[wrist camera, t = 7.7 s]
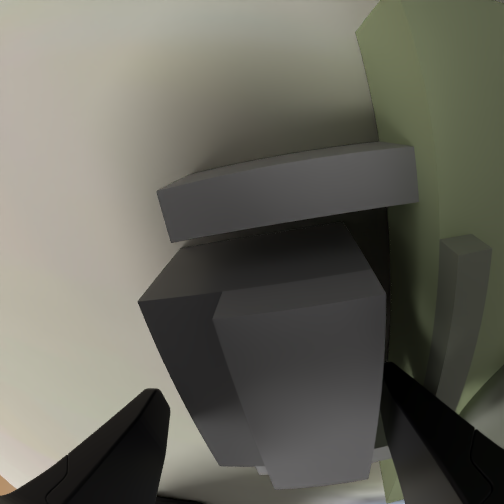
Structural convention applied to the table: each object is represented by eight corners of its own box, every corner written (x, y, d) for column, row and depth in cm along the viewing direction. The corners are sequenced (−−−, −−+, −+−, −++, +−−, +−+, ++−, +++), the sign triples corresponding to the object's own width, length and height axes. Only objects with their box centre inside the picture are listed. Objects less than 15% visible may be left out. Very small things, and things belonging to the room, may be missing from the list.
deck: (512, 404, 11) (538, 454, 7) (274, 462, 14) (269, 530, 10) (552, 57, 5) (626, 54, 1) (165, 69, 8) (79, 33, 4)
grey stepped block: (351, 386, 11) (368, 478, 7) (233, 398, 12) (215, 488, 8) (341, 219, 9) (386, 294, 5) (182, 246, 10) (118, 326, 6)
